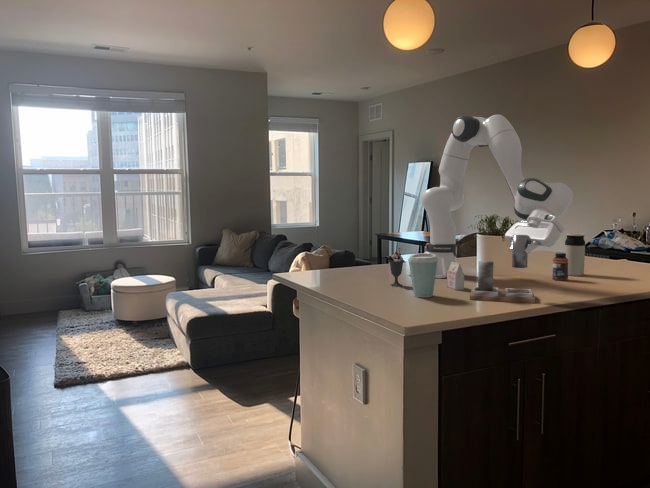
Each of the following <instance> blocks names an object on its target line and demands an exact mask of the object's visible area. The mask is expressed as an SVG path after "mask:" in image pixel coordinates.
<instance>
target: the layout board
mask: <svg viewBox="0 0 650 488" xmlns="http://www.w3.org/2000/svg"><path fill="white" fill-rule="evenodd" d="M477 270H478V279H477V283H478V284H477V286H473V287H472V289H470V294H469V300H471V301H472V300H473V301H485V302H486V301H492V302H506V303H507V302H509V303H522V302H523V304H524V303H525V304H526V303H527V304H536V297H535V294H534V291H533V289H531V288H529V289H528V288H511V287H510V288H508V287H505V288H504V290H501V289H500V290H499V287H494V261H491V260H490V261H489V260H481V261H478V269H477Z"/></svg>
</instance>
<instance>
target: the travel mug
mask: <svg viewBox="0 0 650 488" xmlns="http://www.w3.org/2000/svg"><path fill="white" fill-rule="evenodd" d="M565 235H566V239H565V240H564V253H566V258H567V259H568V277H570V276H571V277H572V276H573V277H581V276H584V275H585V261H586V260H585V259H586V255H585V254H586V240H585V235H586V234H585V233H579V232H578V233H577V232H571V233H570V232H569V233H565Z"/></svg>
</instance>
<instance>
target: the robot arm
mask: <svg viewBox="0 0 650 488" xmlns="http://www.w3.org/2000/svg"><path fill="white" fill-rule="evenodd" d="M476 146H478V147H479V148H482V147H489V149H490V151H491V153H492V156H493V157H494V159H495V161H496V162H497V164H498V167H499V168H500V171H501V172H502V174H503V176H504V180H505V181H506V183H507V184H506V185H508V186H507V187H508V189H509V190H510V193H511V195H512V199H513V210H514V214H515V215H516V216H517V217H518V218H519V219H522V220H520V221H517V222H515V223H514V224H512V225H511V226H510V227H509V229H508V230H507V231H506V232H505V233H504V238H505V239H506V240H507V241H508V243H512V240H513V235H528V247H525V248H524V249H523V252H524V253H526V254H528V255H530V253H531V252H532V251H533V250H535V249H536V248H538V246H539V247H547V248H551V247H552V246H554V245H555V244H556V242H558V240H559V238H560V236H561V234H562V233H563V232H564V231H566V230H565V229H566V228H565V227H564V225H563V224H562V223H561V221H560V220H559V219H560V217H561V216H563V215H564V214H565V212H566V211H567V210H568V209H569V207H570V205H571V204H572V201H573V199H574V198H573V197H574V193H573V191H572V189H571V188H570V187H569V186H568V185H567V184H566V183H564V182H562V181H561V182H559V181H558V182H547V181H546V182H545V181H543V180H540V179H538V178H535V177H528V178H524V174H523V171H522V157H523V156H522V155H523V154H522V153H523V148H522V147H523V146H522V143H521V140H520V137H519V135H518V133H517V131H516V130H515V128H514V126H513V125H512V124H511V123H510V121H509V120H508V119H507V118H506V117H505V116H504V115H502V114H493V115H491V116H489V117H487V118H486V117H481V116H473V115H469V114H467V115H460V116H458V117H456V119H455V120H454V121H453V124H452V126H451V133H450V134H449V137H448V139H447V141H446V144H445V147H444V149H443V154H442V156H441V160H440V163H439V166H438V167H439V168H438V173H439V176H440V177H439V178H440V184H439V186H434V187H431V188H428V189H427V190H425V191H424V192H423V193H422V196H421V199H420V200H421V201H420V202H421V205H422V206H421V207H423V208H424V210H425V211H426V214H427V217H428V222H429V230H430V231H429V235H430V236H429V237H430V238H429V242H426V244H425V251H424V252H423V253H429V254H435V255H436V257H437V258H438V261H437V268H436V275H435V279H444V278H447V271H448V269H449V266H450V264H451V262H455V263H458V262H457V256H458V246H457V238H456V237H457V226H456V224H455V222H454V220H453V217H452V213H451V212H454V211H457V210H458V209H460V208H462V206H463V205H464V204H465V199H466V197H465V194H464V191H463V190H464V178H465V173H466V171H467V170H466V169H467V167H468V163H469V159H470V157H471V151H472V150H473V148H474V147H476ZM509 251H510V252H512V244H511V246H510V247H509ZM407 276H409V277H411V273H410V269H409V270H408V271H407Z"/></svg>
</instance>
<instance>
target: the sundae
mask: <svg viewBox="0 0 650 488" xmlns="http://www.w3.org/2000/svg"><path fill="white" fill-rule="evenodd" d="M401 248H402V247H398V250H397V251H395V252H394V253H393V254H392V255H389V256H388V260H387V261H388V262H389V265H390V272H391V275H392V276H393V277H394V282H393V283H390V285H392V286H391V287H403V284H401V283H400V282H399V277H400V276H401V274H402V272H403V264H404V262H405V259H404V258H403V256H402V254H401ZM398 251H399V252H398Z"/></svg>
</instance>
